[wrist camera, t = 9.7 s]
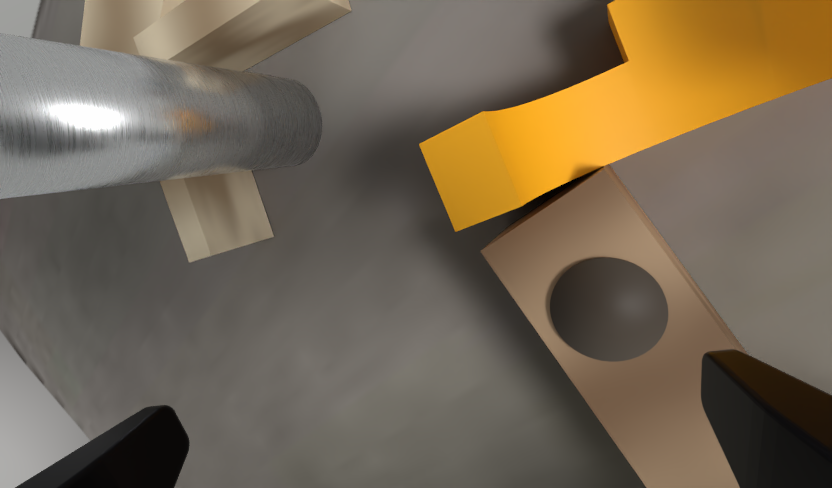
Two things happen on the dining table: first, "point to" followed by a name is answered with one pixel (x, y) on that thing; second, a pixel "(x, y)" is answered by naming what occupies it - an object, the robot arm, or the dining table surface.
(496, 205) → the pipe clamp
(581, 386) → the beam
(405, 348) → the dining table surface
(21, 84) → the axle
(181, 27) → the v block
